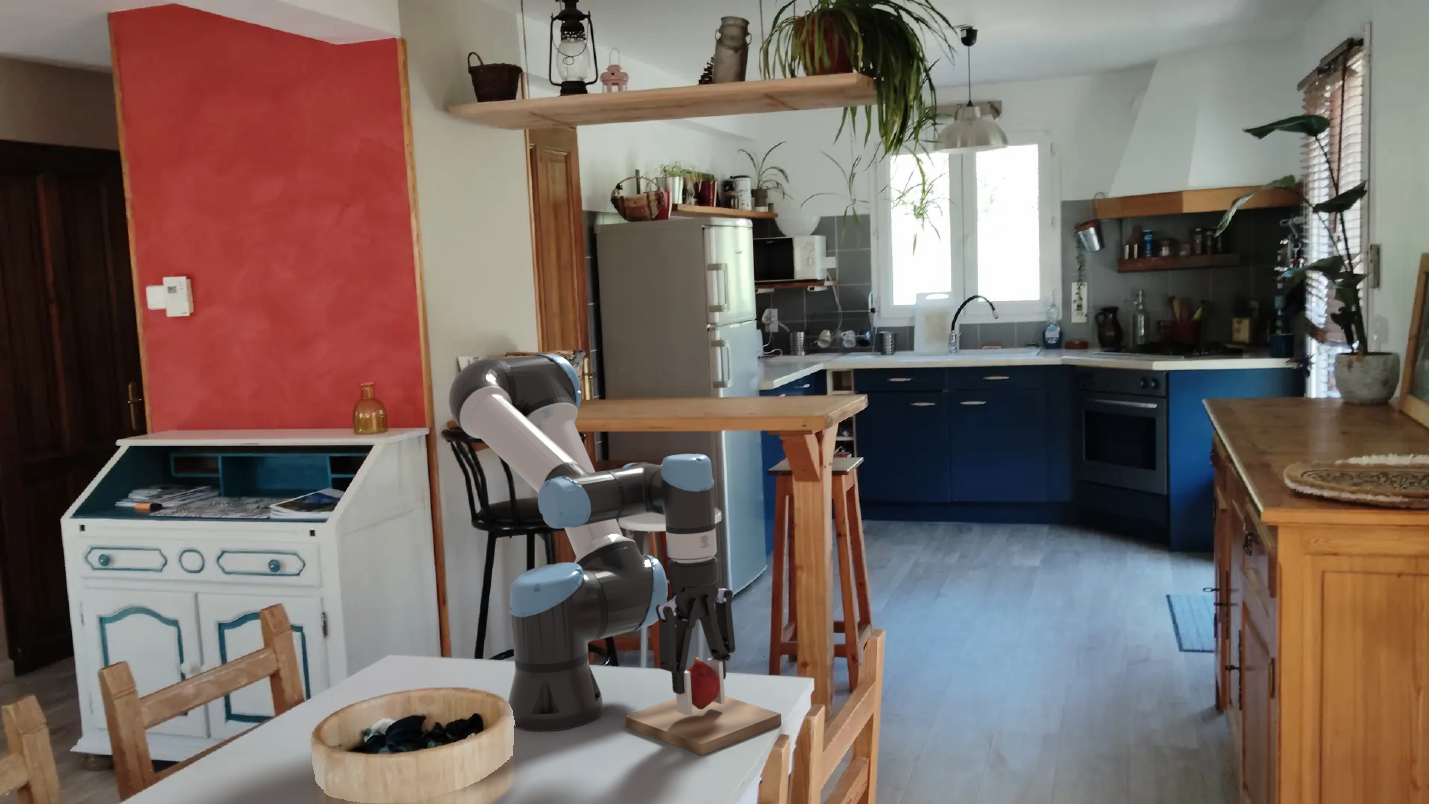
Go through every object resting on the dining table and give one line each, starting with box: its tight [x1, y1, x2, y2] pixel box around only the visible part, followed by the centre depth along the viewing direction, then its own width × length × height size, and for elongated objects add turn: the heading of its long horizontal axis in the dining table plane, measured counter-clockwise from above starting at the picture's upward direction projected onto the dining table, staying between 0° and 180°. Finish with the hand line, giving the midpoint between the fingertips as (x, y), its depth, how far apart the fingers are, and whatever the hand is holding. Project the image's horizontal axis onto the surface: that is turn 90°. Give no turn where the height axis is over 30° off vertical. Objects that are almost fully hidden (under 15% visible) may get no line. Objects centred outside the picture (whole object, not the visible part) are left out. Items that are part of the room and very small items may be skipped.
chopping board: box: [623, 696, 782, 756], centre depth 177 cm, size 18×16×2 cm
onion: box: [686, 657, 720, 710], centre depth 176 cm, size 6×6×8 cm
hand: (701, 707), depth 176 cm, fingers closed on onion, 6 cm apart
